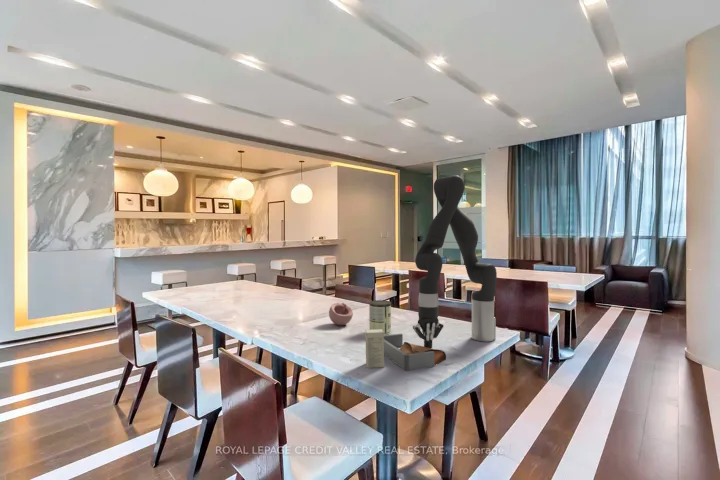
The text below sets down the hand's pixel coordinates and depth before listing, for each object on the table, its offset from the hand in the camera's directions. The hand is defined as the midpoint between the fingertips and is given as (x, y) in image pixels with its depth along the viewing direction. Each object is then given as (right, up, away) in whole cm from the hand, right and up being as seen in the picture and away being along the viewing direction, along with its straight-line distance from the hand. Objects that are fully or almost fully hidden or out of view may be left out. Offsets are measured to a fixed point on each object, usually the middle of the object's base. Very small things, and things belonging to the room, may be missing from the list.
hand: (428, 349), depth 135 cm
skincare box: (-21, -2, -12) cm, 24 cm away
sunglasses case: (-4, -2, -4) cm, 6 cm away
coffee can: (-17, -1, +29) cm, 34 cm away
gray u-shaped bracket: (-9, -2, -4) cm, 10 cm away
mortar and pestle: (-36, -1, +42) cm, 55 cm away
